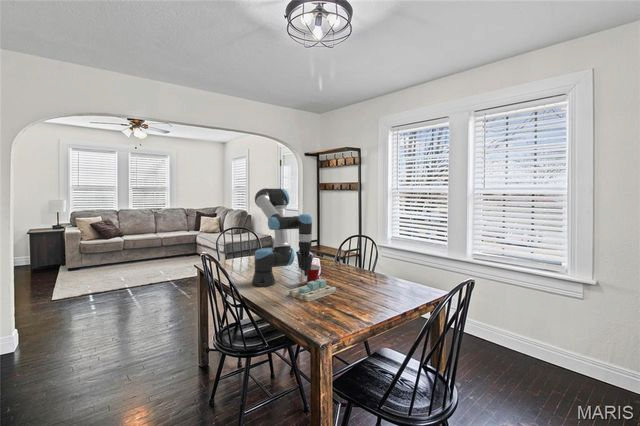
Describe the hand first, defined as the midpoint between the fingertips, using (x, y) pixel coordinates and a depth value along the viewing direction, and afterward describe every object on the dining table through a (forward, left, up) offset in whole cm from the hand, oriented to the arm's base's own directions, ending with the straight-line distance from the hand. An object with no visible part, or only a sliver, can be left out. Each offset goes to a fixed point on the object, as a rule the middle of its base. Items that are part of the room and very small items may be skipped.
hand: (304, 280), depth 187 cm
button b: (0, +7, -6) cm, 9 cm away
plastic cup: (-15, +22, -10) cm, 28 cm away
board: (0, +7, -9) cm, 12 cm away
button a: (0, 0, -8) cm, 8 cm away
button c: (0, +14, -6) cm, 15 cm away
